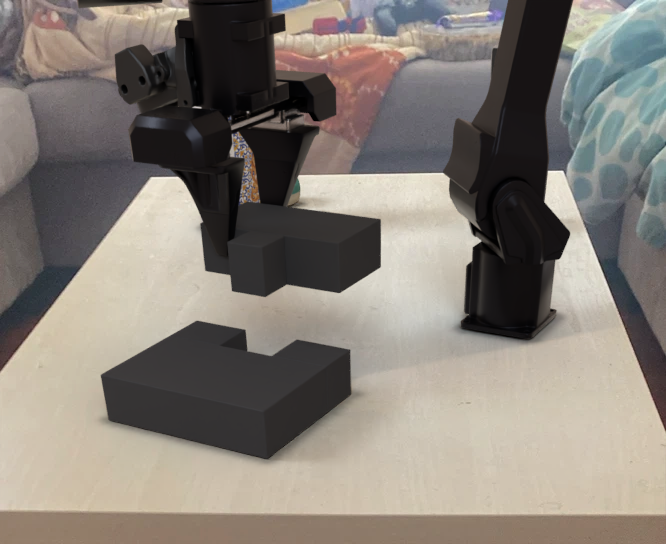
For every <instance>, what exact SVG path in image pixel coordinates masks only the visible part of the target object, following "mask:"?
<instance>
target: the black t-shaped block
mask: <svg viewBox="0 0 666 544" xmlns="http://www.w3.org/2000/svg"><path fill="white" fill-rule="evenodd" d="M199 226H200V234H201V245H202V254H203V264H204V271H205V272H208V273H215V274H220V275H226V276H229V277H230V287H231V292H234V293H238V294H243V295H251V296H255V297H256V296H257V297H263V298H266V297H268V296H270V295H272V294H273V293H275V292H277V291H279V290H280V289H282V288H284V287H286V286H287V285H288V286H293V287H298V288H304V289H312V290H316V291H317V290H318V291H323V292H329V293H334V294H341V293H342V292H344V291H345V290H347V289H349V288H351V287H352V286H354V285H356V284H357V283H358V282H360V281H362V280H363V279H365V278H367V277H368V276H370V275H371V274H372V273H374V272H376V271H378V270H379V269H381V267H382V219H381V218H376V217H370V216H369V217H368V216H362V215H353V214H345V213H340V212H339V213H338V212H330V211H323V210H317V209H308V208H300V207H291V206H287V207H285V206H278V205H270V204H262V203H255V202H245V203H243V204H241V205H239V207H238V215H237V222H236V229H235V236H234V239H232V240H230V241H228V243H227V244H228V256H223V255H218V254H217V253H216V251H215V249H214V246H213V244H212V242H211V239H210V237H209V235H208V232H207V230H206V228H205V225H204V223H203V222H202V223H201V222H200V224H199Z"/></svg>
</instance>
